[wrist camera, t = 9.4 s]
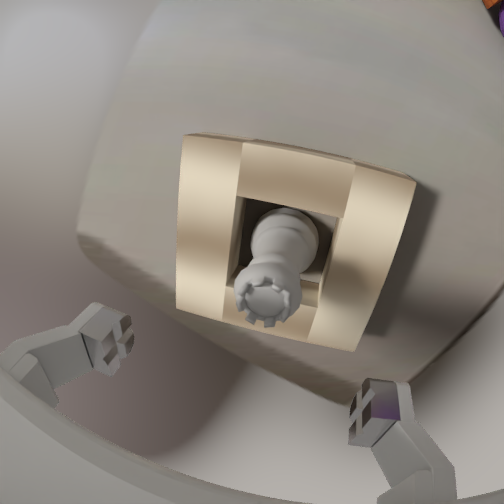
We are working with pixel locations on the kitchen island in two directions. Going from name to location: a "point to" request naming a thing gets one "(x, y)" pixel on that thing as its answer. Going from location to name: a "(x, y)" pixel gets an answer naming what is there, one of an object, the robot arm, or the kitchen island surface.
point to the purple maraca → (503, 12)
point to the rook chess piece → (276, 266)
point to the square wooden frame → (294, 195)
